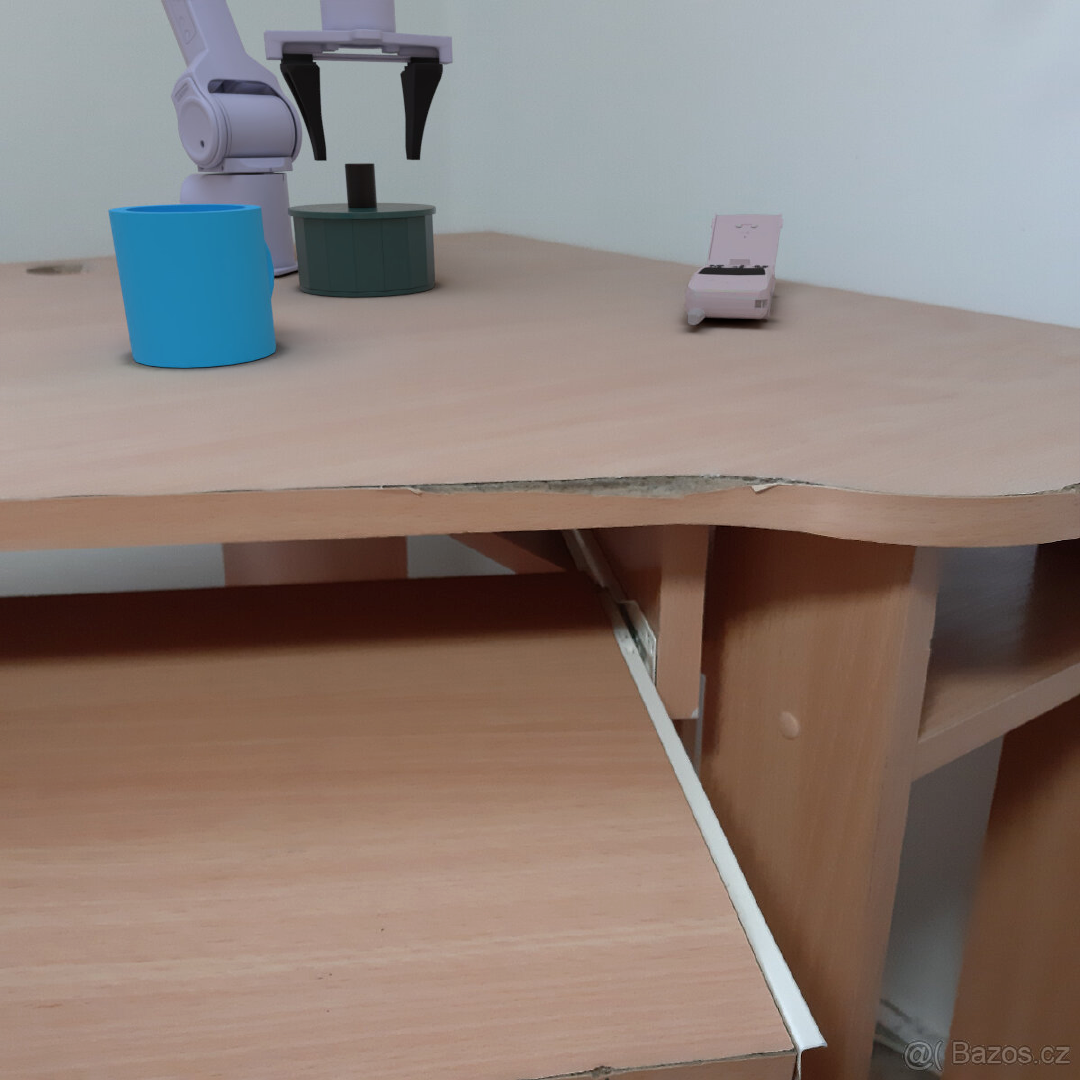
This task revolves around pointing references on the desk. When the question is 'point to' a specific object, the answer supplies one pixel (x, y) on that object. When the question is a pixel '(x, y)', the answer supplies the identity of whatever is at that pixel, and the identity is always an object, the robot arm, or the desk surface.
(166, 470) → the desk surface
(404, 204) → the lid
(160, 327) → the mug
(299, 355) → the desk surface
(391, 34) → the robot arm
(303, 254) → the tin
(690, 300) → the pale pink hinged device
